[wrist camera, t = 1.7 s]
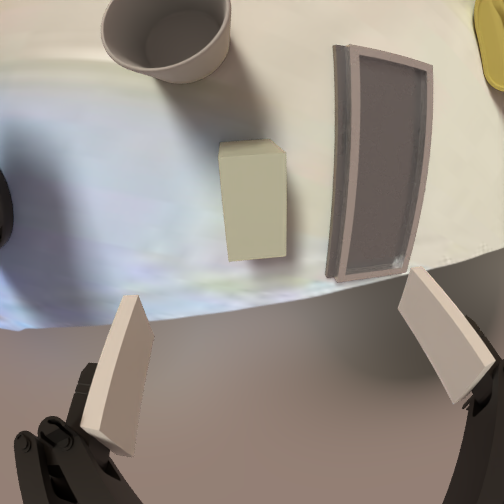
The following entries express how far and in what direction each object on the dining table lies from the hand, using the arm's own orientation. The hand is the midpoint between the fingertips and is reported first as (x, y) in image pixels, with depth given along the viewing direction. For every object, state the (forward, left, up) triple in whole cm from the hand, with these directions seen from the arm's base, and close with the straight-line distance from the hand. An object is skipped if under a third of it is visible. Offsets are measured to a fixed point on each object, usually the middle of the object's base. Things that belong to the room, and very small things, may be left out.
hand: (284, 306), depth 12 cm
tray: (+16, +1, -19) cm, 25 cm away
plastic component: (+39, +26, -19) cm, 51 cm away
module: (0, 0, -19) cm, 19 cm away
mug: (-5, +17, -19) cm, 26 cm away
